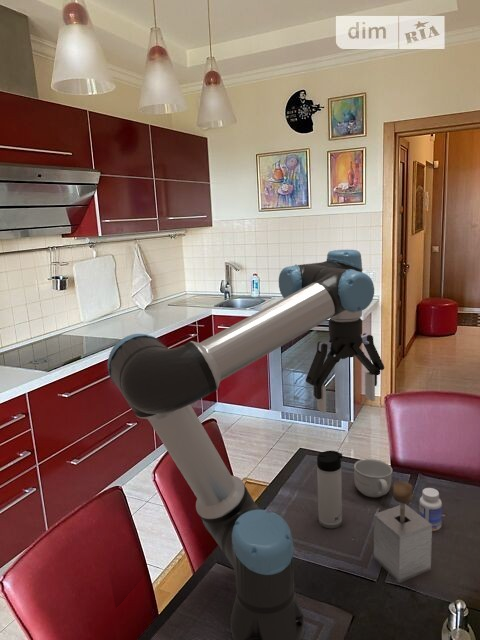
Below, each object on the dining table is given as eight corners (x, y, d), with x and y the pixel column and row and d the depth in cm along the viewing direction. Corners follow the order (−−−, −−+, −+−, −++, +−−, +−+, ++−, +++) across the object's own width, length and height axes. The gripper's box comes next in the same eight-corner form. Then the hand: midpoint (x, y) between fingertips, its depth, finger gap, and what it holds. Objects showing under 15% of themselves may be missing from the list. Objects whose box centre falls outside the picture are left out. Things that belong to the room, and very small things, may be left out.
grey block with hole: (399, 583, 110) (399, 536, 107) (367, 551, 120) (367, 508, 118) (430, 570, 113) (432, 524, 111) (397, 540, 124) (398, 498, 121)
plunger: (400, 568, 111) (401, 497, 107) (381, 550, 117) (381, 482, 113) (423, 559, 114) (424, 489, 109) (403, 542, 119) (404, 475, 115)
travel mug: (343, 529, 129) (342, 460, 125) (318, 528, 130) (316, 459, 126) (343, 515, 135) (342, 448, 130) (319, 513, 136) (317, 447, 132)
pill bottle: (443, 522, 129) (445, 489, 127) (437, 534, 125) (439, 500, 123) (422, 516, 133) (423, 483, 130) (416, 527, 128) (416, 493, 126)
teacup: (351, 481, 151) (350, 458, 149) (387, 480, 150) (387, 456, 148) (360, 509, 137) (360, 483, 135) (399, 508, 137) (400, 482, 135)
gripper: (305, 329, 104) (308, 422, 109) (400, 313, 113) (399, 399, 118) (289, 322, 111) (292, 410, 116) (379, 308, 120) (379, 389, 125)
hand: (346, 405), depth 117 cm, fingers open, 13 cm apart
